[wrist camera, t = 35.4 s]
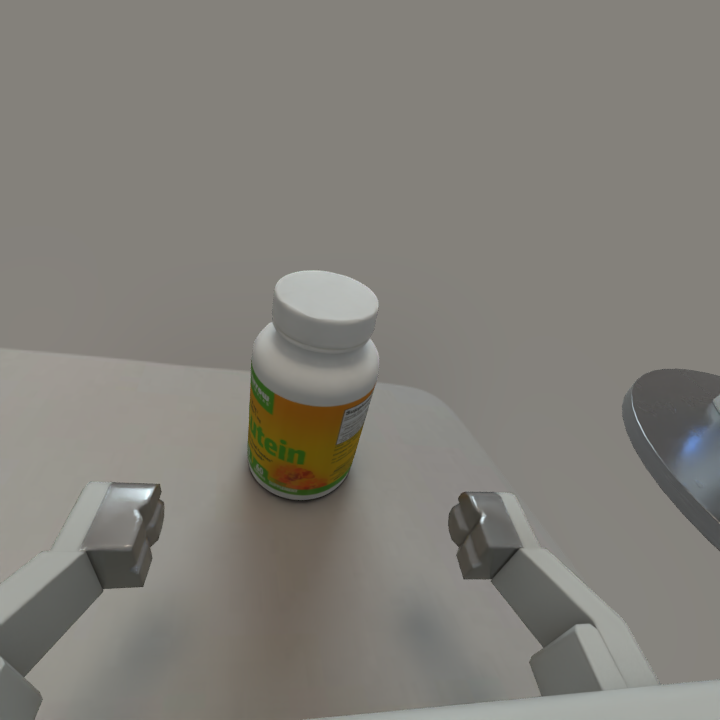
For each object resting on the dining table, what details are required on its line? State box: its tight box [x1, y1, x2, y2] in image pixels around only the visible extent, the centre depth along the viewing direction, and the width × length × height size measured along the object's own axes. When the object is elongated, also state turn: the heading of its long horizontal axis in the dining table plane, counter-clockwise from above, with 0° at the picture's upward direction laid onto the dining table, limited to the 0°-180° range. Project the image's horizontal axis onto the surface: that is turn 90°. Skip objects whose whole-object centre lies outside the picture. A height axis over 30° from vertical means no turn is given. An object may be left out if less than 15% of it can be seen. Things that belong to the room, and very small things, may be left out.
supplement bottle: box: [248, 270, 380, 500], centre depth 17 cm, size 5×5×10 cm
